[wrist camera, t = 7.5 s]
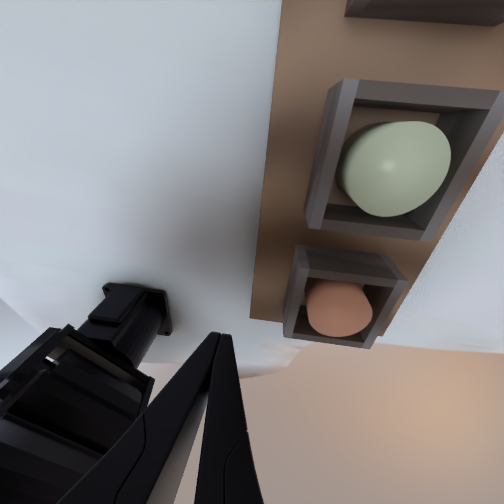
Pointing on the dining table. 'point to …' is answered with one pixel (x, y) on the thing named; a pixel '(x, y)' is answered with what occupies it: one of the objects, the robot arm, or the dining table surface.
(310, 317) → the terracotta button
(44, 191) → the dining table surface
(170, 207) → the dining table surface
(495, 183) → the dining table surface
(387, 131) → the sage button
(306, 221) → the button panel
